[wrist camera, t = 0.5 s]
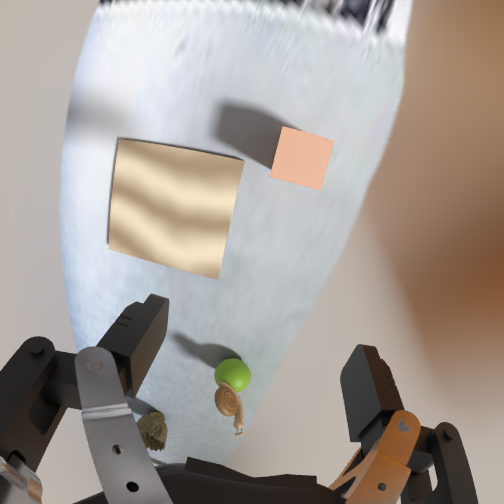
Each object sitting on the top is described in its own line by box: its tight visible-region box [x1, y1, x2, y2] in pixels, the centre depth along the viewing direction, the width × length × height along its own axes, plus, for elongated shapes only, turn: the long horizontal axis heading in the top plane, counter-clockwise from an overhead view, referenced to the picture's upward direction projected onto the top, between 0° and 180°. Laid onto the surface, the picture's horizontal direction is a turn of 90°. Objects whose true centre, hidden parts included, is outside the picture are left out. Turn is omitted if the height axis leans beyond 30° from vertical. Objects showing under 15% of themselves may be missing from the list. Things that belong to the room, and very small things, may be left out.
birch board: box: [109, 139, 244, 279], centre depth 33 cm, size 15×16×1 cm
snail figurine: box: [215, 358, 251, 436], centre depth 37 cm, size 5×6×12 cm
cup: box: [136, 411, 167, 451], centre depth 46 cm, size 8×7×8 cm
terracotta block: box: [270, 126, 334, 190], centre depth 27 cm, size 5×5×8 cm
